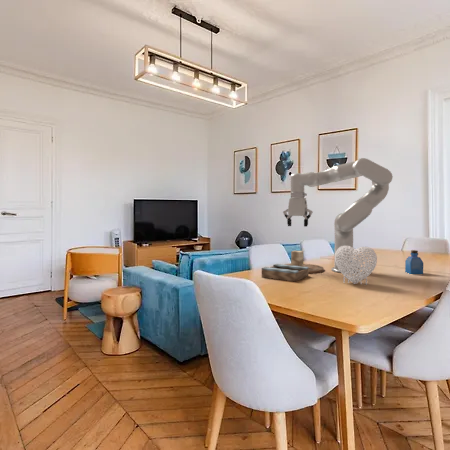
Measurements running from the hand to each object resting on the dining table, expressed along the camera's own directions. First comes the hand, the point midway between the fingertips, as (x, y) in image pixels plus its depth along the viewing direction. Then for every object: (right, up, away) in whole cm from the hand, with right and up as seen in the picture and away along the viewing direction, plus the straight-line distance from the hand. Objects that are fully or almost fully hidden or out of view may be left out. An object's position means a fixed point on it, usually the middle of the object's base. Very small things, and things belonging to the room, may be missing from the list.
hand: (297, 226), depth 187 cm
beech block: (0, -23, +1) cm, 23 cm away
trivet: (+2, -25, 0) cm, 25 cm away
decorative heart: (+18, -26, -36) cm, 48 cm away
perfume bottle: (+58, -25, -13) cm, 64 cm away
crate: (-10, -25, -19) cm, 33 cm away
